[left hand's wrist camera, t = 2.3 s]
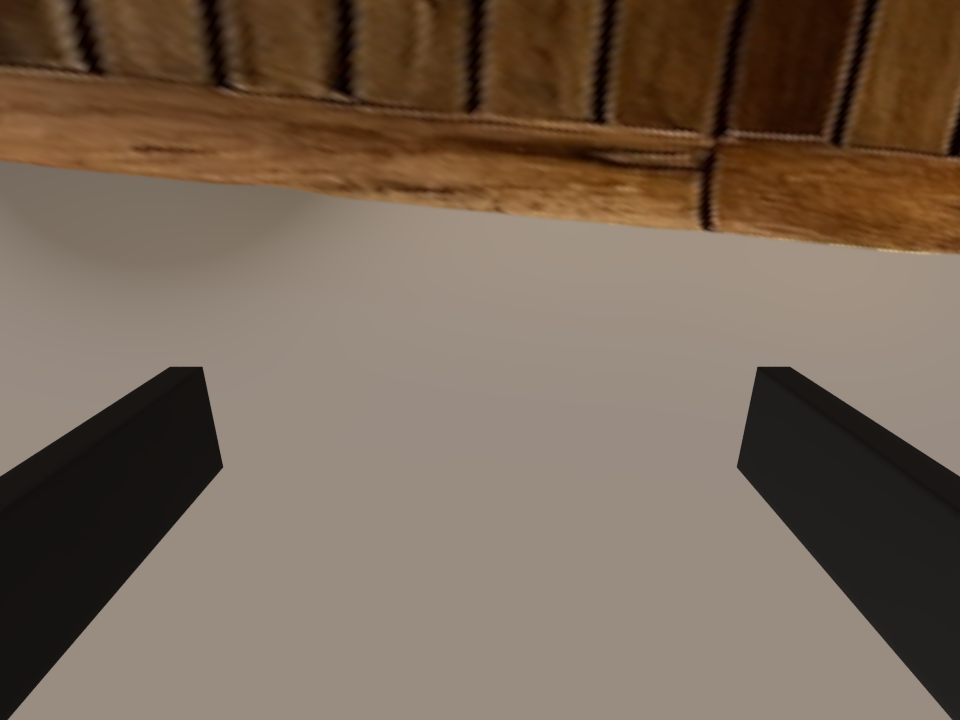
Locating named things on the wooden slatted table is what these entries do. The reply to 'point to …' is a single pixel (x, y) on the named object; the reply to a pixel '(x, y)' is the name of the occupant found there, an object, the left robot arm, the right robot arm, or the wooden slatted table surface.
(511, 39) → the wooden slatted table surface
